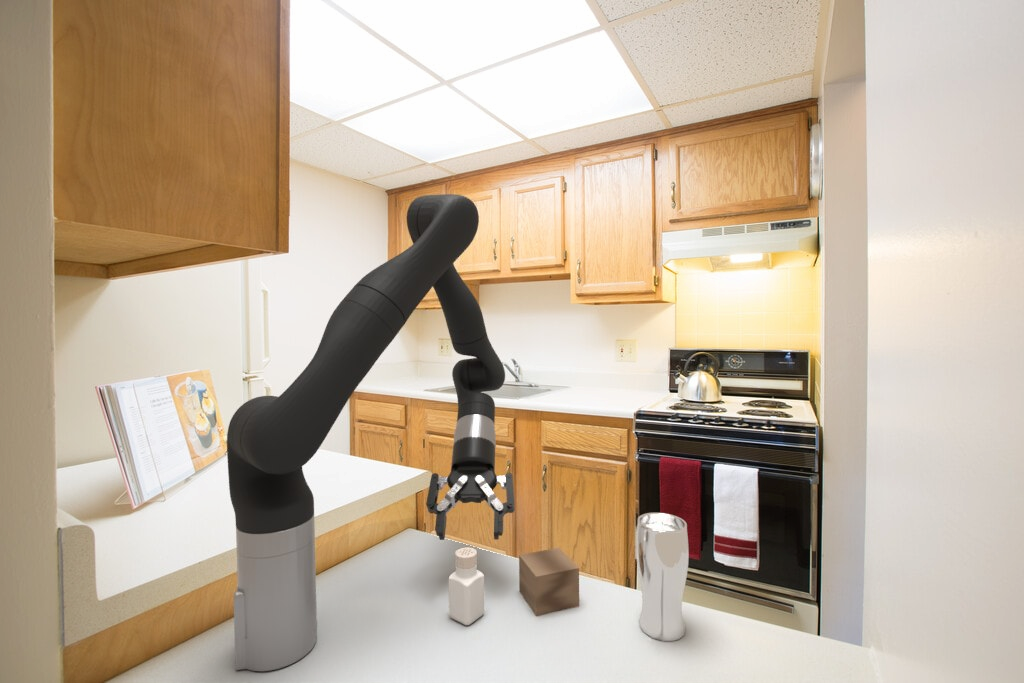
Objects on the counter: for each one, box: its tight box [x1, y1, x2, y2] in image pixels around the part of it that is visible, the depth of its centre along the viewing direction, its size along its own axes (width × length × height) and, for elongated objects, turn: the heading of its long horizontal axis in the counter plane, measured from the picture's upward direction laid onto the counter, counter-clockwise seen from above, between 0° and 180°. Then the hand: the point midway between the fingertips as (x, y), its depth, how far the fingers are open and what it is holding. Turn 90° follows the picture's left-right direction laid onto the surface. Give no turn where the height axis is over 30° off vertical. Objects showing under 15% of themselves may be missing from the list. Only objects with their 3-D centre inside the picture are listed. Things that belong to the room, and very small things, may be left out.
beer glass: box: [635, 512, 690, 642], centre depth 66 cm, size 7×7×15 cm
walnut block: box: [518, 547, 580, 617], centre depth 74 cm, size 7×7×6 cm
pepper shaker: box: [448, 546, 485, 626], centre depth 69 cm, size 4×4×10 cm
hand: (469, 537), depth 74 cm, fingers open, 8 cm apart
